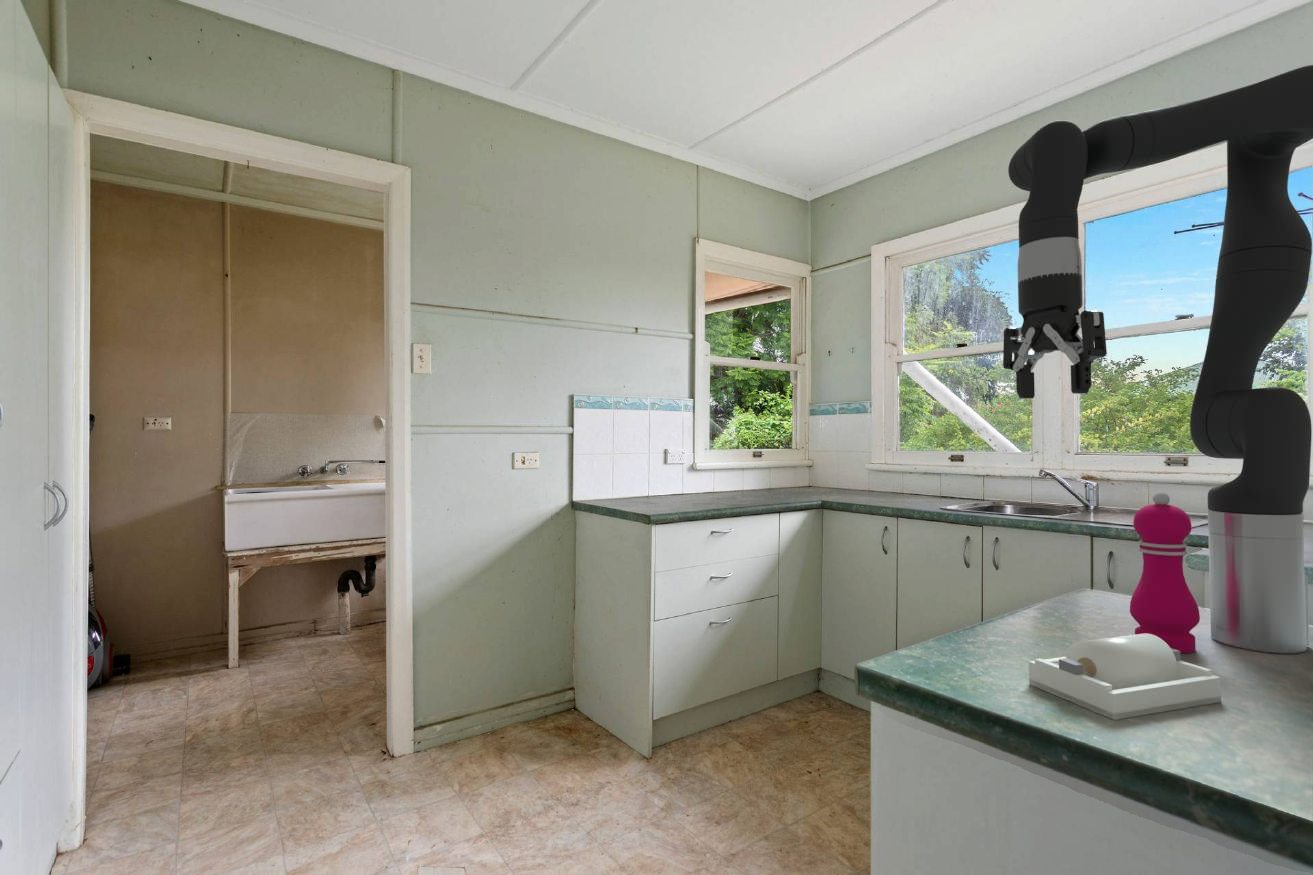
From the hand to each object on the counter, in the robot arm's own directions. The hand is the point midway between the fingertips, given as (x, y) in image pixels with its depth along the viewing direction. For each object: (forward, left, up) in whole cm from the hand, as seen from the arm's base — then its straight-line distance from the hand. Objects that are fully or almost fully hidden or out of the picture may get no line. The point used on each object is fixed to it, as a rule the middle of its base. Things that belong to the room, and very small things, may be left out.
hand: (1052, 396), depth 90 cm
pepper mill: (-10, +7, -33) cm, 35 cm away
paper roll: (+10, +17, -32) cm, 38 cm away
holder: (+10, +17, -33) cm, 39 cm away
